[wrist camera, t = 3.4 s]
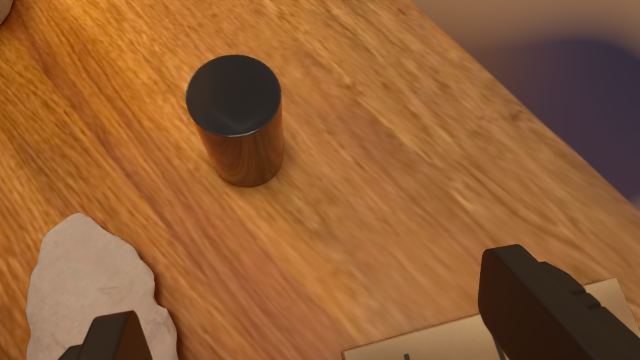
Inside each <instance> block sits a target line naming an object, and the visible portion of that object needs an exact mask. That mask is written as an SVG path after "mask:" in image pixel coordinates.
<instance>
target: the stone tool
mask: <svg viewBox="0 0 640 360" xmlns="http://www.w3.org/2000/svg"><path fill="white" fill-rule="evenodd" d="M154 291H155V283H154V274H153V273H152V271H151V269H150V268H149V267H148V266H147V265H146V264H145V263H144V262H143V261H142V260H140V258H139V256H138V254H137V252H136V250H135V249H134V247H133V246H131V245H130V244H128V243H127V242H125V241H123V240H121V239H120V238H119V237H118V236H114V235H112V234H111V233H109V232H107V231H105V230H104V229H103V228H102V227H101V226H100V225H99V224H97V223H96V222H95V221H94V220H92V219H91V218H90V217H86V216H85V215H84V214H81V213H75V214H73V215H71V216H69V217H68V218H66V219H65V220H64V221H62V222H61V223H59V224H57V225H56V226H55V227H54V228H52V229H51V230H50V231H49V232H48V233H47V234H46V236H45V237H44V238H43V240H42V243H41V249H40V253H39V257H38V263H37V265H36V267H35V269H34V271H33V272H32V275H31V278H30V286H29V287H28V298H27V306H26V309H25V313H26V316H27V321H28V324H29V327H30V330H31V337H30V340H29V344H28V347H27V355H26V360H58V359H59V357H60V356H61V355H62V354H63V353H64V352H65V351H66V350H67V349H68V348H69V347H70V346H74V345H80V344H82V343H83V341H84V339H85V336H86V334H87V332H88V329H89V327H90V325H91V322H92V321H93V319H94V318H95V317H97V316H101V315H107V314H113V313H118V312H124V311H130V310H134V311H135V312H136V314H137V315H138V318H139V321H140V324H141V326H142V329H143V332H144V335H145V338H146V341H147V344H148V346H149V349H150V352H151V355H152V358H153V360H179V359H178V356H177V352H176V341H177V332H176V328H175V326H174V323H173V321H172V319H171V317H170V315H169V313H168V311H167V309H166V308H162V307H161V306H159V305H158V304H157V302H156V301H155V299H154Z"/></svg>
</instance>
